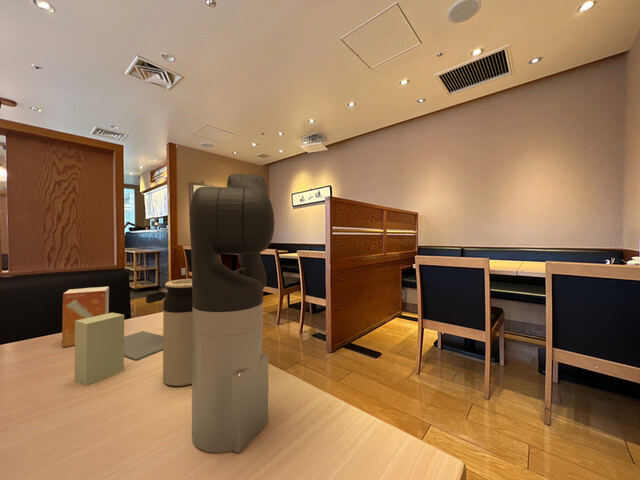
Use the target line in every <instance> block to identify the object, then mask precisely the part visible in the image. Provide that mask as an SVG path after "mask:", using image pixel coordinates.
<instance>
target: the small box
mask: <svg viewBox="0 0 640 480" xmlns="http://www.w3.org/2000/svg"><path fill="white" fill-rule="evenodd" d="M109 300H110V286H98V287H86V288H85V287H83V288H73V289H72V288H71V289H68V290H67V291H65V292H63V296H62V329H61V333H62V334H61V335H62V336H61V337H62V339H61V340H62V341H61V348H66V347H73V346H75V321H76V320H81V319H85V318H90V317H95V316H99V315H104V314H108V313H110V311H109V310H110V309H109V307H110V306H109V305H110V303H109V302H110V301H109Z"/></svg>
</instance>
